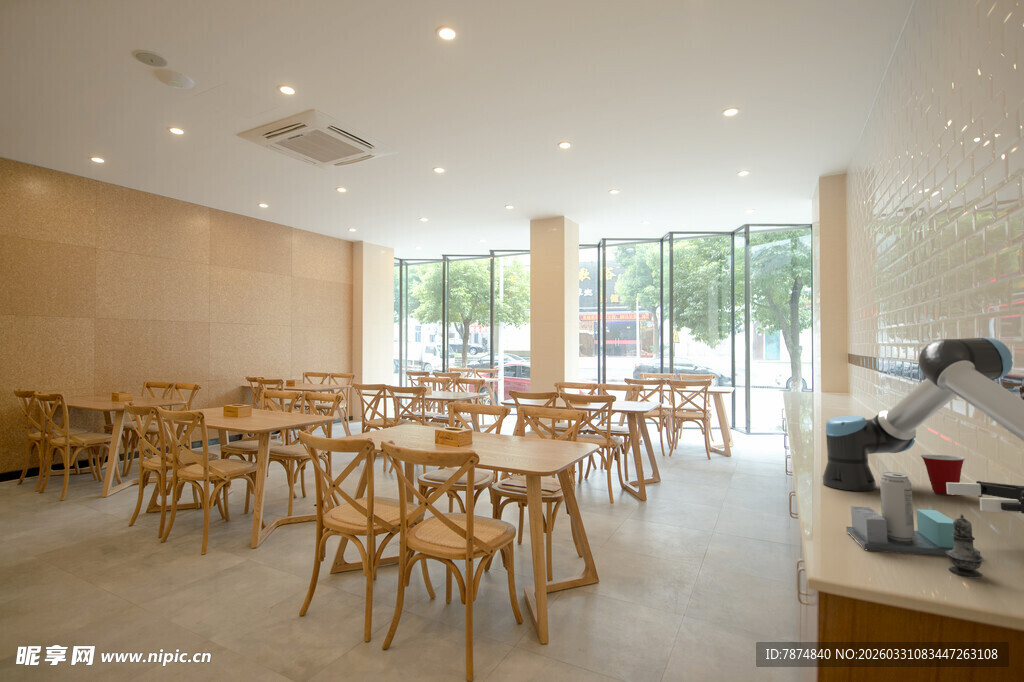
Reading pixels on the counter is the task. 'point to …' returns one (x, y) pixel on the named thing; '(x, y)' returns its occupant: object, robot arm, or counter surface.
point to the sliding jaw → (936, 527)
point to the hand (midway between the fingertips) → (962, 495)
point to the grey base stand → (874, 535)
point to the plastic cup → (943, 471)
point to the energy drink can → (897, 505)
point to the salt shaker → (964, 551)
